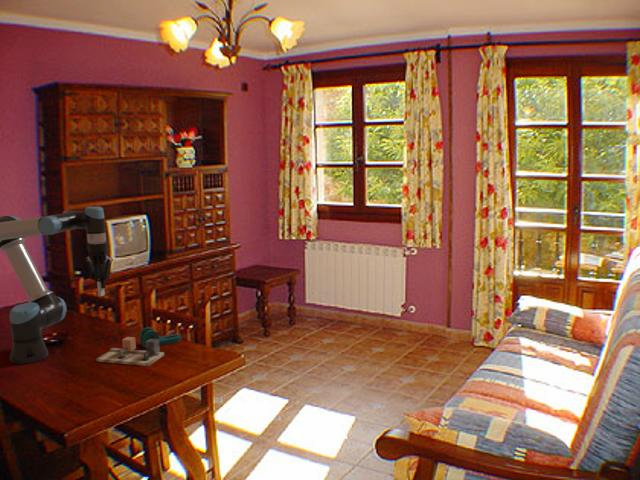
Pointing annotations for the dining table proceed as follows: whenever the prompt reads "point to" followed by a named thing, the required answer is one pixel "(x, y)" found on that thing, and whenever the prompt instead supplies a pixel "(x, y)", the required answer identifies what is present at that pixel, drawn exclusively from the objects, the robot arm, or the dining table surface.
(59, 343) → the dining table surface
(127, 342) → the block
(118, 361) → the gauge board
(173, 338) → the teal curved handle
